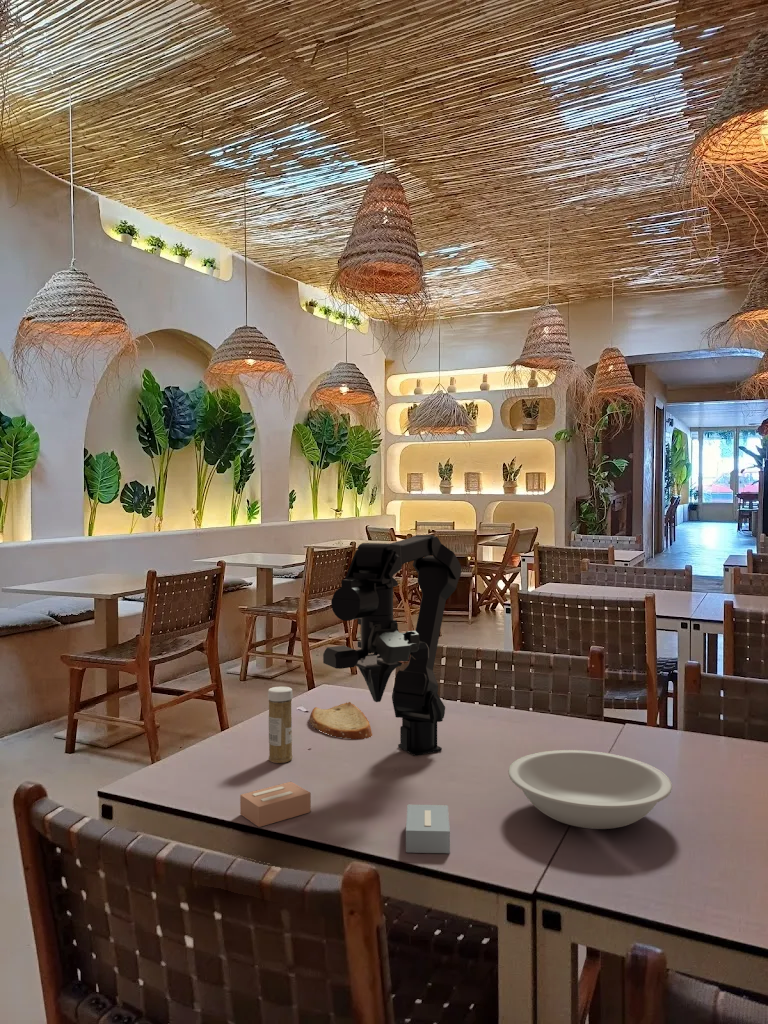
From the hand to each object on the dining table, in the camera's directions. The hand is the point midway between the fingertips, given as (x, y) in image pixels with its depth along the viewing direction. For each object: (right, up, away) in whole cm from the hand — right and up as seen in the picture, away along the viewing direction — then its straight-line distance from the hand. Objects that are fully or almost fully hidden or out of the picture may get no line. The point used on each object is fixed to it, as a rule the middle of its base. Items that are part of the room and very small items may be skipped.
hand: (377, 701), depth 132 cm
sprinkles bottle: (-18, -13, +8) cm, 24 cm away
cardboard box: (-12, -12, -14) cm, 22 cm away
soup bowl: (+32, -13, -18) cm, 40 cm away
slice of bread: (-8, -14, +31) cm, 35 cm away
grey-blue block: (+8, -12, -21) cm, 25 cm away
